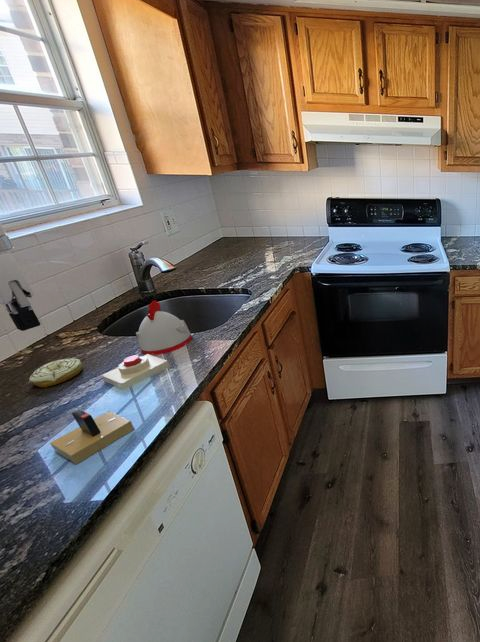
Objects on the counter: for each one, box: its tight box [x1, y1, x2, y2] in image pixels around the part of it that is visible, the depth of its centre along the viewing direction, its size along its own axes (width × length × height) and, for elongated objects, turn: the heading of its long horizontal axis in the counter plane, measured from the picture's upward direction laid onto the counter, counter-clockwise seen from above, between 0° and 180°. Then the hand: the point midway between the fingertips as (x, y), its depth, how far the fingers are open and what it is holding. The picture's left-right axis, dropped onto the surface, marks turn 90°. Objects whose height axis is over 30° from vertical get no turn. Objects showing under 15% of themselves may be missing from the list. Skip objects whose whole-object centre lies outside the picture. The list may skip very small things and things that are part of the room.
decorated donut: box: [28, 357, 83, 388], centre depth 105 cm, size 10×11×4 cm
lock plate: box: [49, 410, 135, 465], centre depth 82 cm, size 11×9×3 cm
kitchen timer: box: [135, 300, 193, 356], centre depth 118 cm, size 14×14×15 cm
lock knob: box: [71, 408, 101, 437], centre depth 81 cm, size 5×1×5 cm, turn 66°
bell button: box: [122, 354, 141, 367], centre depth 104 cm, size 4×4×2 cm
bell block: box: [101, 354, 171, 391], centre depth 105 cm, size 12×10×4 cm
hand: (29, 327), depth 80 cm, fingers closed
